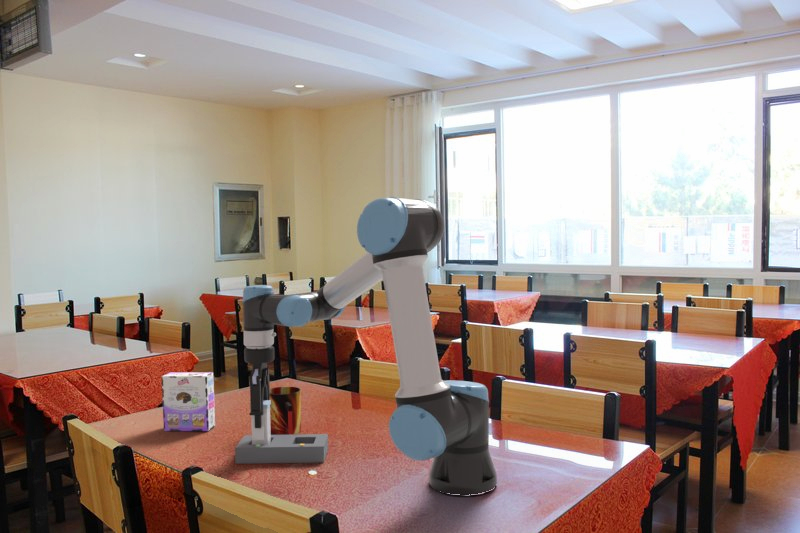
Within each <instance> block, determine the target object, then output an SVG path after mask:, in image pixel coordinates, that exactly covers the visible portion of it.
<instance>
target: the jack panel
mask: <svg viewBox="0 0 800 533" xmlns="http://www.w3.org/2000/svg"><path fill="white" fill-rule="evenodd" d="M328 451H329V433H317V434H316V433H314V434H313V433H312V434H311V433H309V434H307V433H305V434H303V433H302V434H301V433H298V434H294V435H271V443H270V444H256V445H252V434H245V435H244V436H243V437H242V438H241V440H239V442H238V443H237V445H236V446H235V447H234V456H235V460H234V461H235V464H291V463H293V464H294V463H296V464H297V463H300V464H301V463H303V464H304V463H305V464H306V463H309V464H310V463H325V460H326V458H327V454H328Z"/></svg>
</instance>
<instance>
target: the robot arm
mask: <svg viewBox="0 0 800 533" xmlns="http://www.w3.org/2000/svg"><path fill="white" fill-rule="evenodd" d="M444 231H445V221H444V217H443V214H442V212H441V211H440V209H439V208H438V207H437V206H436V205H434V204H433V203H432V202H430V201H428V200H424V199H418V198H415V199H412V198H403V197H402V198H401V197H395V196H391V197H380V198H376V199H374V200H372V201H370V202H369V203H368V204H366V206H364V208H363V210H362V212H361V213H360V214H359V217H358V220H357V226H356V234H357V239H358V242H359V244H360V246H361V247H362V248H363V249H364V250H365V252H366V253H364V255H362V256H360V257H359V258H358V259H357V260H355V261H354V262H353V263H351V264H350V265H349V266H348V267H347V268H345V269H344V270H343V271H341V272H340V273H339V274H337V275H336V276H334V277H333V278H332V279H330V280H329V281H328V282H327V283H326V284H324V285H322V287H320V288H318V289H317V290H315V291H310V292H302V293H291V294H275V292H274V289H273V286H272V285H268V284H256V285H247V286H245V287H244V288H243V291H242V318H243V320H242V322H243V345H244V346H245V347H244V349H243V353H244V354H243V356H244V357H243V358H244V362H245V363H246V364H251V365H252V369H250V373H249V374H250V375H249V378H248V381H249V394H250V395H249V396H250V404H251V409H250V412H249V413H248V414H249V416H251V415H253V440H265V424H264V414H263V400H270V389H271V388H270V370H271V368H270V367H271V366H270V365H268V363H271V362H273V361H274V360H275V347H274V346H273V345H274V343H275V337H276V336H277V333H276V332H274V329H275V325H276V326H285V327H289V328H294V327H295V328H300V327H304V326H305V325H306V324H308V323H312V322H317V321H324V320H325V321H327V320H333V319H334V318H338V317H340V316H341V315H343V313H344V310H346V306H348V305H349V304H350V303H352V302H353V301H355V299H358V298H359V297H360V296H361V295H363V294H364V293H366V292H367V291H368V290H370V289H371V288H373V287H374V286H376V285H377V284H379V283H380V282H381V281H382V282H383V287H384V293H385V299H386V304H387V306H386V307H387V309H388V316H389V323H390V328H391V329H390V330H391V333H392V334H391V335H392V340H393V347H394V352H395V353H394V354H395V359H396V363H397V364H396V365H397V366H396V367H397V369H398V370H397V371H398V377H399V383H400V387H399V388H398V390H397V391H396V393H394V397H395V404H396V408H395V410H394V411H393V412H392V414H391V416H390V418H389V422H388V430H389V431H388V432H389V435H390V439H391V441H392V442H393V444H394V446H395V447H396V448H397V449H398V451H400V452H402V454H403V455H404V456H405V457H407V458H409V459H411V460H414V461H419V462H420V461H421V462H423V461H428V460H430V459H433V461H432V463H431V467H430V469H429V480H428V481H429V485H431V486H432V487H433V488H434V489H433V488H432V487H431V486H430V487H431V488H432V489H433V490H435V489H436V490H438V491H441V492H444V493H450V494H460V495H469V494H470V495H471V494H478V493H482V492H486V491H489V490H491V489H493V488H494V487H495V486H496V484H497V485H498V476H497V475H498V474H497V472H496V467H495V464H494V462H493V460H492V456H491V453H490V450H489V448H490V446H489V444H490V443H489V442H490V441H489V436H490V433H489V432H490V428H489V426H490V425H489V424H490V423H489V422H490V419H489V414H490V410H489V409H490V408H489V406H490V405H489V404H490V399H489V390H488V388H487V386H486V385H485V384H483V383H479V382H475V381H468V380H467V381H466V380H454V379H453V380H451V379H449V380H443V379H442V375H441V369H440V362H439V358H438V351H437V350H438V349H437V345H436V339H435V334H434V328H433V323H432V321H433V320H432V316H431V311H430V305H429V300H428V293H427V286H426V280H425V275H424V269H423V265H424V263H425V261H426V260H427V259H428V255H429V254H428V253H429V252H431V251H433V249H434V248H436V247H437V246H438V245H439V243H440V242H441V240H442V239H443V236H444V233H445V232H444ZM270 407H271V405H270ZM496 487H497V486H496ZM436 490H435V491H436ZM438 491H437V492H438ZM441 492H440V493H441ZM444 493H443V494H444Z"/></svg>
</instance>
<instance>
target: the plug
mask: <svg viewBox="0 0 800 533" xmlns="http://www.w3.org/2000/svg"><path fill="white" fill-rule="evenodd" d="M270 405H271V400H263V414H264V424H265V440H253V415H250V420H251V421H250V422H251V424H250V425H251V435H252V445H256V444H270V443H271V425H270ZM249 409H250V410H251V403H250V404H249Z"/></svg>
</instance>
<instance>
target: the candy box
mask: <svg viewBox="0 0 800 533" xmlns="http://www.w3.org/2000/svg"><path fill="white" fill-rule="evenodd" d="M214 379H215V378H214V372H212V371H209V372H208V371H207V372H196V371H195V372H193V371H191V372H189V371H187V372H185V371H183V372H182V371H181V372H178V371H177V372H176V371H175V372H172V371H171V372H168V373H166V374H164V375H162V376H161V395H162V399H161V400H162V416H163V418H162V420H163V430H162V431H164V432H209V431H210V430H212V429H213V428H215V427H216V415H215V414H216V410H215V409H216V408H215V407H216V406H215V385H214V384H215V382H214V381H215V380H214Z"/></svg>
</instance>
